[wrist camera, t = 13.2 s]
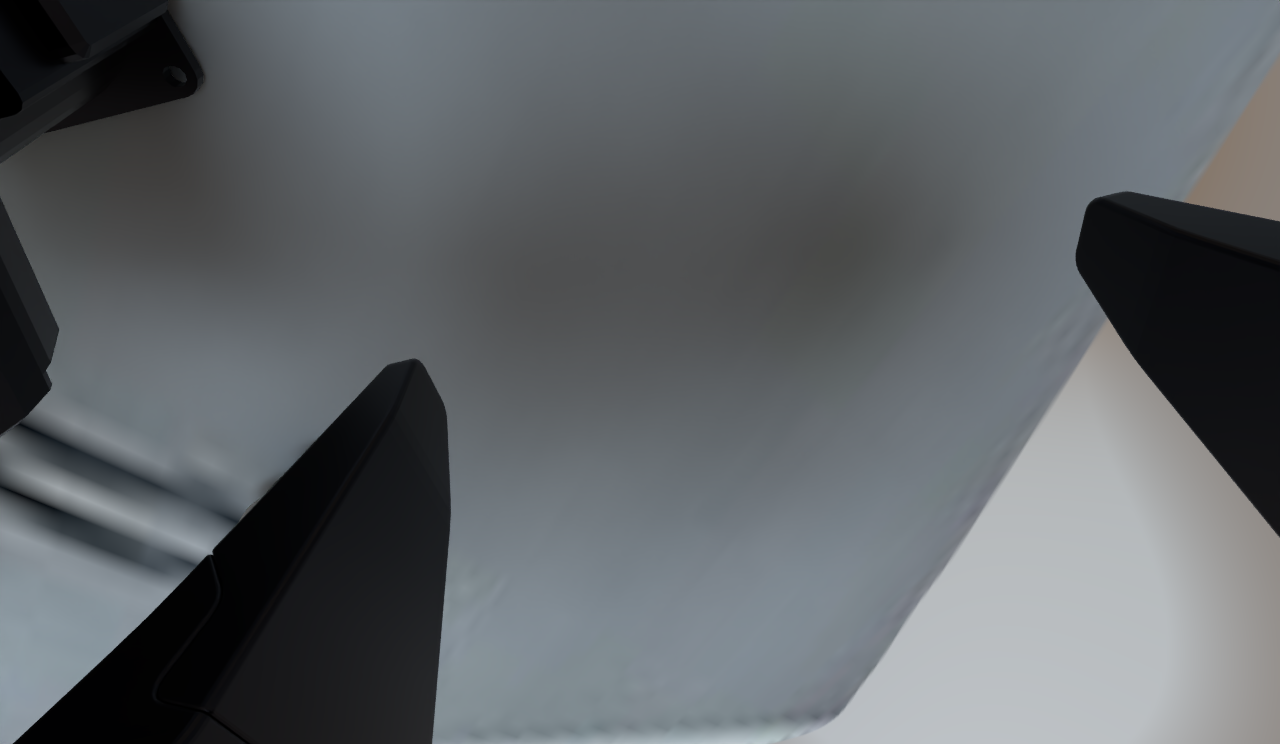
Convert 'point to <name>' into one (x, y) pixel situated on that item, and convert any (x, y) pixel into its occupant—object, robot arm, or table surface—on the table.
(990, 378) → the table surface
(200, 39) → the table surface
